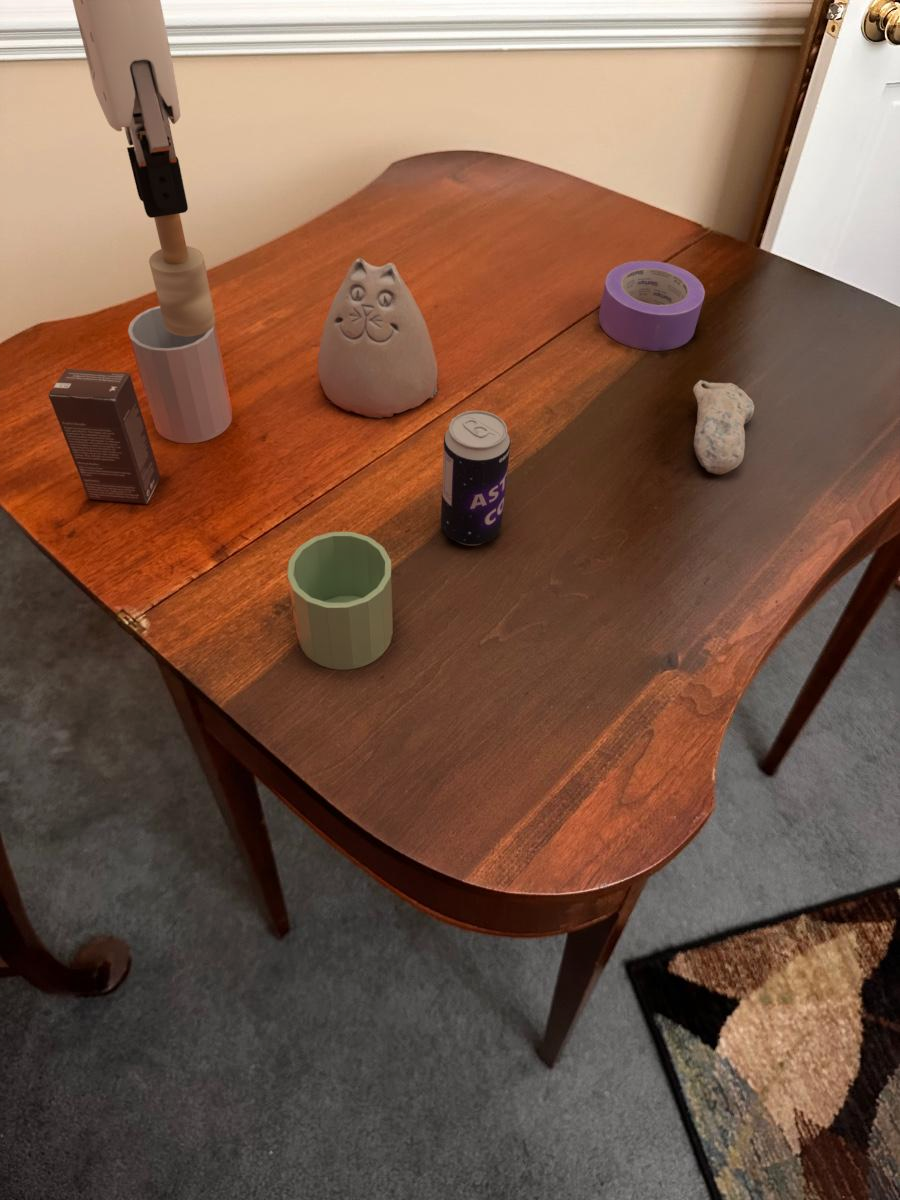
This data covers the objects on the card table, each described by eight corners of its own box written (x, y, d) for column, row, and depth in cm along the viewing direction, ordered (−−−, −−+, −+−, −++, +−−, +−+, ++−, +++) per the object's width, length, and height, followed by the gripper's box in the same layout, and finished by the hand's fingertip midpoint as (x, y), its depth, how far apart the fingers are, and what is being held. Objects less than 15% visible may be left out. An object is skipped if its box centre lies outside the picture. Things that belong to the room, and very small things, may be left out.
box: (162, 474, 86) (131, 371, 76) (147, 506, 83) (114, 402, 73) (102, 469, 86) (64, 365, 77) (85, 500, 83) (44, 396, 74)
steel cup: (163, 451, 88) (137, 358, 79) (147, 405, 93) (120, 312, 84) (241, 432, 90) (223, 340, 82) (221, 388, 95) (202, 296, 86)
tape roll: (697, 355, 102) (708, 317, 98) (598, 346, 103) (605, 308, 99) (691, 302, 110) (701, 264, 106) (598, 293, 110) (605, 256, 106)
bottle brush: (170, 340, 75) (123, 147, 63) (160, 314, 77) (112, 123, 65) (221, 330, 76) (184, 138, 64) (209, 305, 79) (171, 115, 66)
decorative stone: (755, 486, 87) (771, 447, 83) (688, 478, 88) (701, 438, 84) (746, 406, 96) (760, 367, 92) (685, 399, 96) (697, 360, 92)
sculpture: (335, 430, 91) (324, 300, 79) (308, 367, 98) (294, 239, 86) (451, 407, 94) (456, 278, 83) (416, 347, 101) (416, 221, 90)
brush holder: (315, 682, 70) (306, 620, 64) (285, 612, 75) (274, 547, 69) (407, 651, 72) (406, 588, 66) (372, 585, 77) (369, 520, 71)
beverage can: (467, 560, 79) (474, 459, 70) (428, 525, 82) (430, 424, 73) (512, 533, 82) (525, 432, 73) (473, 500, 85) (481, 399, 75)
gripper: (23, -110, 58) (98, 170, 72) (54, -45, 49) (134, 262, 63) (136, -116, 60) (189, 158, 74) (187, -55, 51) (236, 244, 65)
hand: (163, 203), depth 69 cm, fingers closed on bottle brush, 2 cm apart
